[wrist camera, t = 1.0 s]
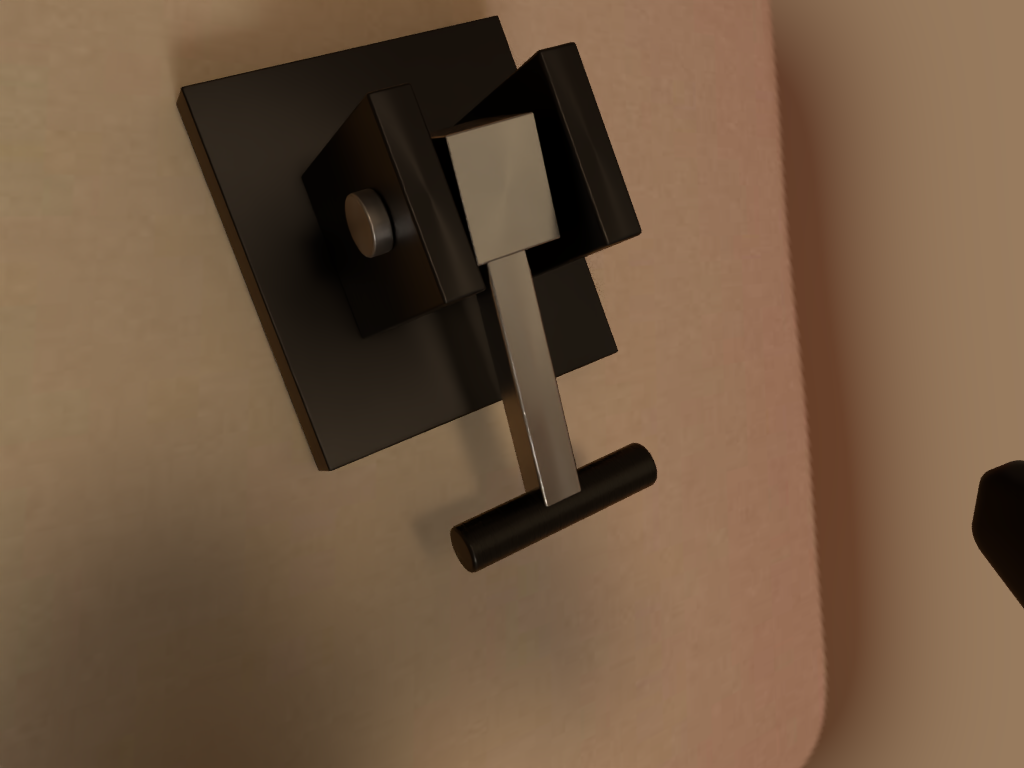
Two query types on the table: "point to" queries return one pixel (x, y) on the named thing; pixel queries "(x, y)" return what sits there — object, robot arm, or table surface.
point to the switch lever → (523, 341)
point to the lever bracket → (399, 223)
